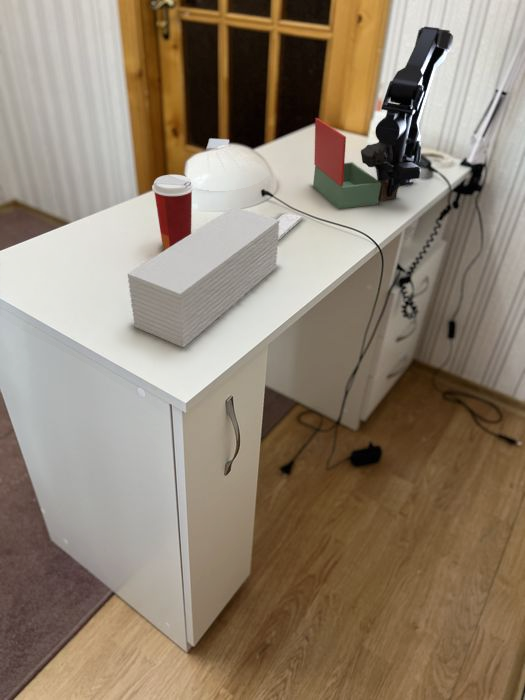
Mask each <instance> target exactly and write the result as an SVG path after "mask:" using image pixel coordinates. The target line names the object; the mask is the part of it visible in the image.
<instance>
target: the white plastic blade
mask: <svg viewBox="0 0 525 700" xmlns="http://www.w3.org/2000/svg"><path fill="white" fill-rule="evenodd" d="M277 220H279V229H278V230H279V233H278V238H277V239H278V241H279V240H281V239H282V238H283V237H285V235H286V234H288V233H289V232H290V231H291V230H292V229H293V228H294V227H296V226H297V225H298V223H300V222H301V221H302V216H301V215H299V214H295V213H290V212H289V213H283V214H281V215H280V216H279V217H278V218H277Z"/></svg>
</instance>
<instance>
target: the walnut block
mask: <svg viewBox="0 0 525 700" xmlns="http://www.w3.org/2000/svg"><path fill="white" fill-rule="evenodd" d="M378 181H379V182H381V187H380V193H379V198H378V201H381V202H382V201H388V200H396V199H397V196H398V192H399V191H398V190H399V187H398V188H397V189H396V191H395V192H394V193H393V195H392V196H390V197H388V196H387V190H388V181H389V179H385V180H378Z"/></svg>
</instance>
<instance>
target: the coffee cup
mask: <svg viewBox="0 0 525 700" xmlns="http://www.w3.org/2000/svg"><path fill="white" fill-rule="evenodd" d="M151 188H152V191H153V192H154V199H155V205H156V211H157V218H158V219H157V220H158V225H159V232H160V238H161V244H162V249H163V251H165V250H166V249H168V248H169V247H171V246H172V245H174V244H176V243H177V242H179V241H180V240H182V239H184V238H185V237H187V236H188V235H190V234H191V233H192V212H193V211H192V209H193V208H192V207H193V205H192V204H193V202H192V201H193V200H192V199H193V196H192V195H193V190H194V185H193V184H192V181H191V179H190V178H189V177H187V176H185V175H181V174H166V175H161V176H159V177H157V178H156V179H155V180H154V182H153V184H152V186H151Z"/></svg>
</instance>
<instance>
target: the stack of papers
mask: <svg viewBox="0 0 525 700" xmlns="http://www.w3.org/2000/svg"><path fill="white" fill-rule="evenodd" d="M277 219H278V218H277ZM277 219H276V218H274V217H270V216H266V215H263V214H260V213H256V212H252V211H250V210H246V209H242V208H240V207H236V206H232V207H231V208H230V209H228V210H226V211H225V212H223V213H221V214H220V215H218V216H216V217H215V218H213V219H212V220H210V221H209V222H207V223H206V224H204V225H202V226H201V227H199V228H198V229H196V230H194V231H192V232H191V234H190V235H188V236H187V237H185V238H184V239H182V240H180V241H179V242H177V243H176V244H174V245H172V246H171V247H169V248H168V249H166V250H165V251H164V250H163V251H161V252H160V253H158V254H157V255H155V256H153V257H151V258H150V259H149V260H147V261H145V262H144V263H142V264H141V265H139V266H138V267H136V268H134V269H133V270H131V271H130V272H128V273H127V279H128V288H129V294H130V295H129V296H130V302H131V308H132V309H131V311H132V317H133V325H134V327H135V328H137V329H140V330H142V331H143V332H146V333H149V334H151V335H154V336H156V337H159V338H160V339H163V340H165V341H167V342H170V343H172V344H174V345H177V346H179V347H181V348H185V347H186V346H187V345H189V344H190V343H191V342H192V341H193V340H194V339H196V338H197V337H198V336H199V335H200V334H201V333H203V331H204V330H206V329H207V328H208V327H210V325H212V324H213V323H214V322H215V321H216V320H218V319H219V318H220V317H221V316H222V315H223V314H224V313H225V312H226V311H228V310H229V309H230V308H232V306H233V305H235V304H236V303H237V302H239V300H240V299H242V298H243V297H244V296H245V295H246V294H248V293H249V292H250V291H251V290H252V289H253V288H254V287H256V286H257V285H258V284H259V283H260V282H261V281H263V280H264V279H265V278H267V276H268V275H270V274H271V273H272V272H273V271H275V269H277V261H278V260H277V259H278V246H279V245H278V244H279V243H278V242H279V240H278V239H277V238H278V233H279V230H278V229H279V220H277Z"/></svg>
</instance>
